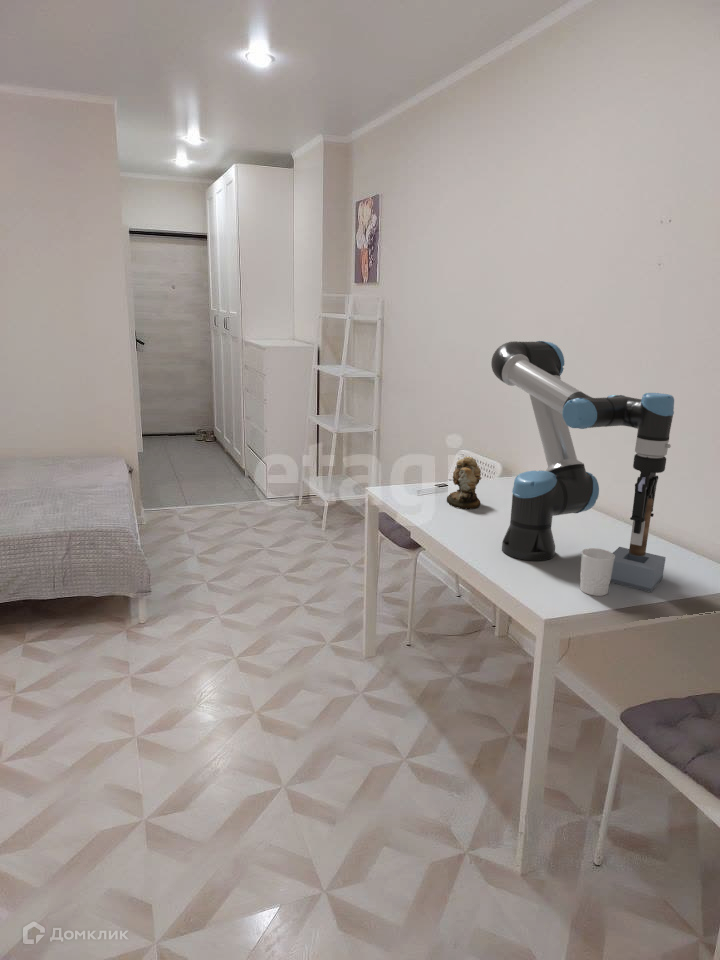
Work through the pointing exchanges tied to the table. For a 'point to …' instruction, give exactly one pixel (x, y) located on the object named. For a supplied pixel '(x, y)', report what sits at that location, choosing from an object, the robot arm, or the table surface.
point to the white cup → (596, 571)
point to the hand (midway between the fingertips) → (638, 541)
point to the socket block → (637, 569)
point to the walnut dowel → (638, 549)
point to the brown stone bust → (465, 484)
